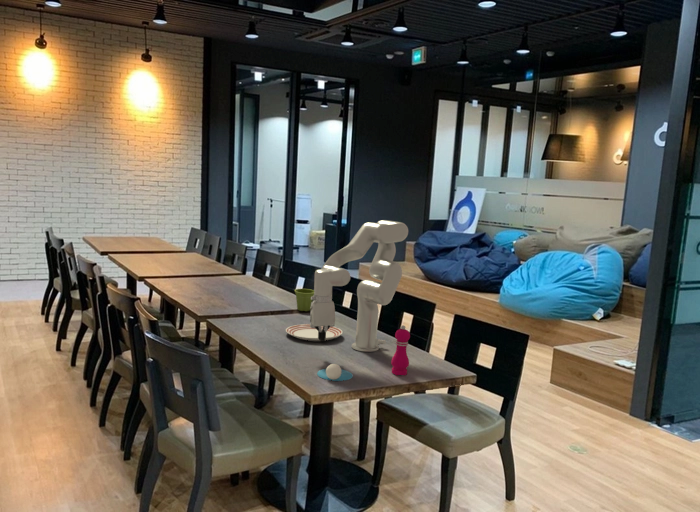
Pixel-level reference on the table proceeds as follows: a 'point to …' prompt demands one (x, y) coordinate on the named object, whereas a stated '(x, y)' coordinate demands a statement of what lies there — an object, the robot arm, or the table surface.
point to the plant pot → (304, 299)
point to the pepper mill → (401, 352)
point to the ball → (333, 371)
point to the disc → (344, 376)
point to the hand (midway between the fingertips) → (321, 340)
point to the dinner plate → (312, 332)
